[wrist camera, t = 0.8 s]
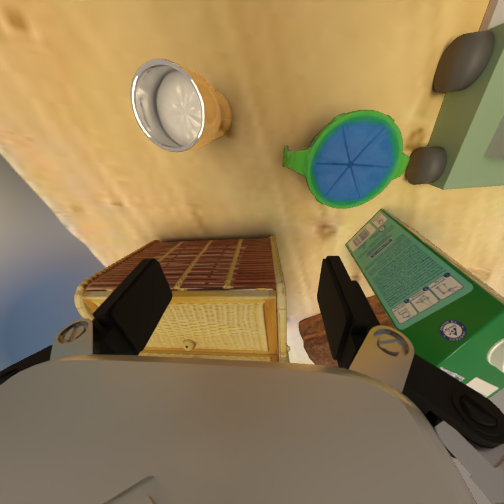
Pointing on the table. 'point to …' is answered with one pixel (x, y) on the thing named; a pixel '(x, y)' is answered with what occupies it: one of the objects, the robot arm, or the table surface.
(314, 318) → the bread
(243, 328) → the picnic basket
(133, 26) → the table surface
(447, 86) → the green toy vehicle
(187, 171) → the table surface
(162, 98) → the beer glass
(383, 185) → the snack cup
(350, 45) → the table surface
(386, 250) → the milk carton
